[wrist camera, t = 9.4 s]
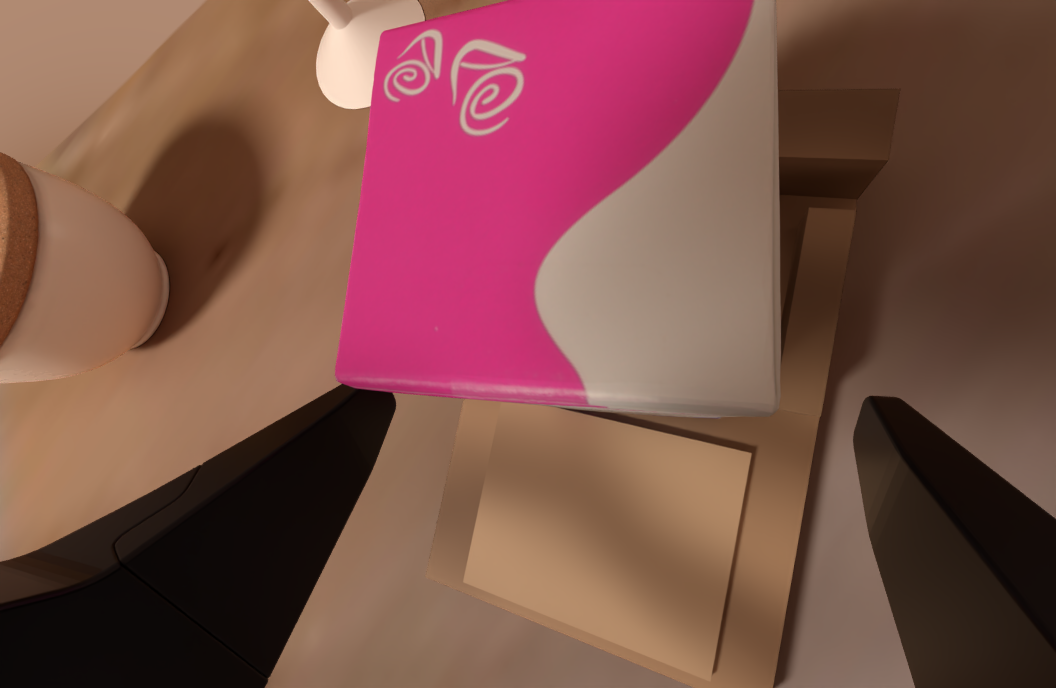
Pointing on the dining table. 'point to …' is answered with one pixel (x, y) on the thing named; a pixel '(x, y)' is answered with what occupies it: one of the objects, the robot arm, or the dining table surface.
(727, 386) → the supplement box
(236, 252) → the dining table surface
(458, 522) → the click board
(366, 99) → the champagne flute
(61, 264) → the lidded jar
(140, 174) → the dining table surface
